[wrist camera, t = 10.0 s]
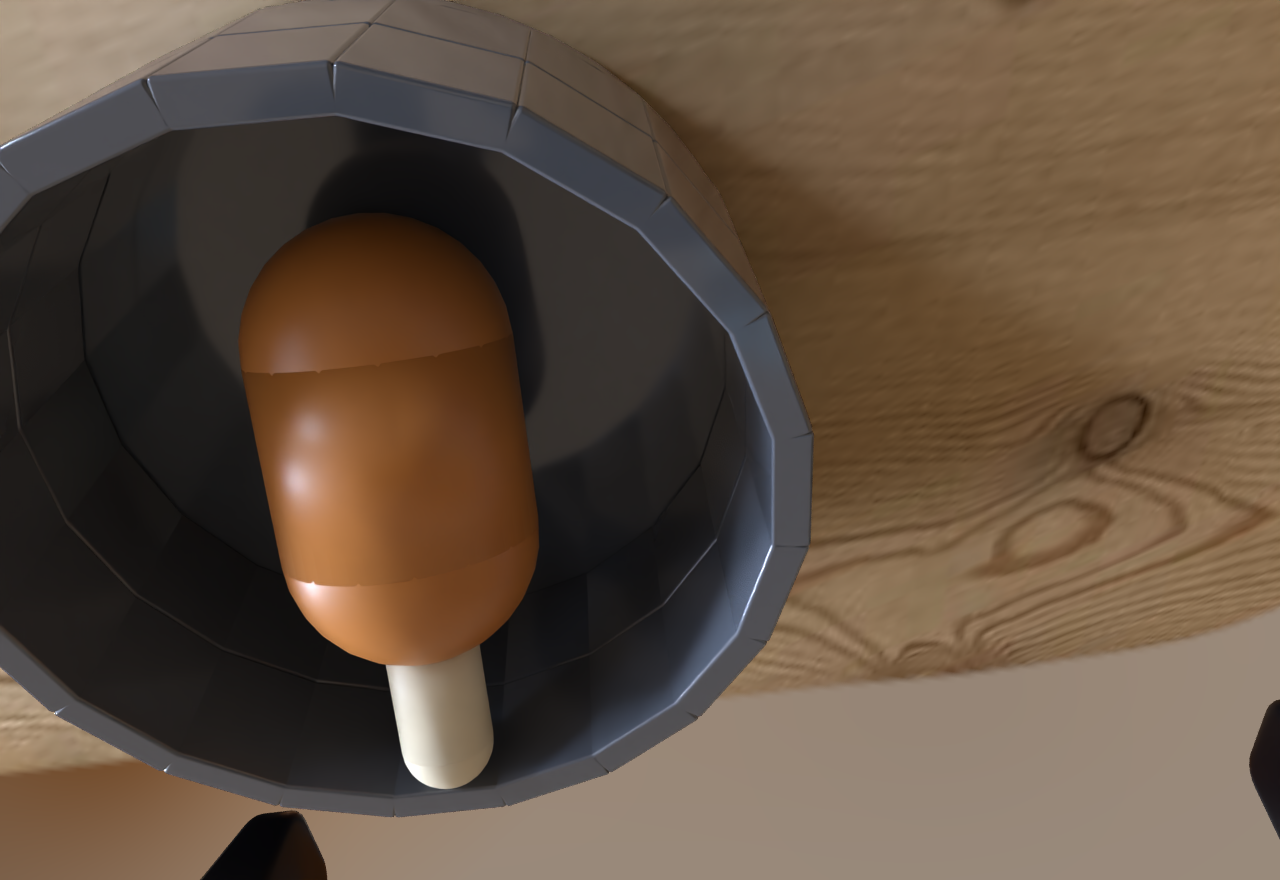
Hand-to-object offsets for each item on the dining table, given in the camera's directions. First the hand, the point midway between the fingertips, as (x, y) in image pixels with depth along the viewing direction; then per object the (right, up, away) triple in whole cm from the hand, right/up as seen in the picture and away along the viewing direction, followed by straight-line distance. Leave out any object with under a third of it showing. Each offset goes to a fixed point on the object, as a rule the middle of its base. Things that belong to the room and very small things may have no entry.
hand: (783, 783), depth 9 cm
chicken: (-5, +3, +9) cm, 11 cm away
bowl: (-6, +5, +9) cm, 12 cm away
